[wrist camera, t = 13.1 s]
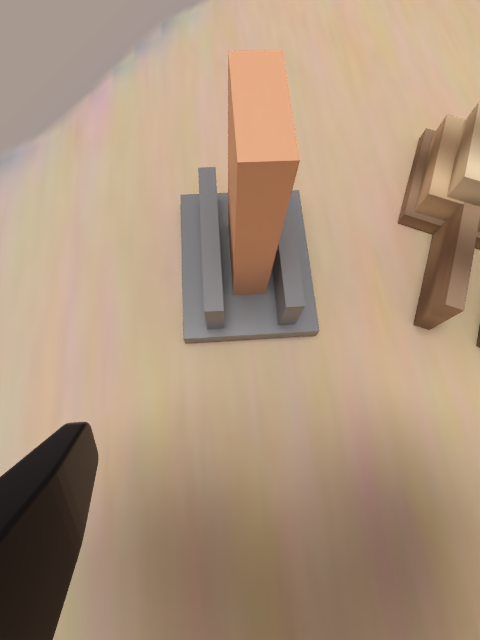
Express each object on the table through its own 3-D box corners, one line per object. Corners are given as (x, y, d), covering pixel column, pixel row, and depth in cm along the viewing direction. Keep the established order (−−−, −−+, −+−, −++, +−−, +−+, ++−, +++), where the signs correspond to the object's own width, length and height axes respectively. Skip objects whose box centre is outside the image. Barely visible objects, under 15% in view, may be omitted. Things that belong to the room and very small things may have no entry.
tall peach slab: (265, 293, 22) (299, 160, 12) (233, 295, 22) (237, 162, 11) (258, 223, 24) (283, 50, 13) (228, 224, 23) (228, 50, 13)
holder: (315, 335, 22) (333, 313, 18) (185, 343, 22) (176, 322, 18) (296, 199, 25) (308, 157, 22) (182, 204, 25) (174, 161, 21)
